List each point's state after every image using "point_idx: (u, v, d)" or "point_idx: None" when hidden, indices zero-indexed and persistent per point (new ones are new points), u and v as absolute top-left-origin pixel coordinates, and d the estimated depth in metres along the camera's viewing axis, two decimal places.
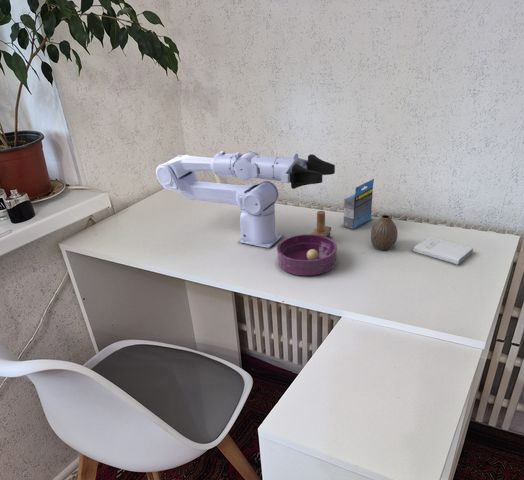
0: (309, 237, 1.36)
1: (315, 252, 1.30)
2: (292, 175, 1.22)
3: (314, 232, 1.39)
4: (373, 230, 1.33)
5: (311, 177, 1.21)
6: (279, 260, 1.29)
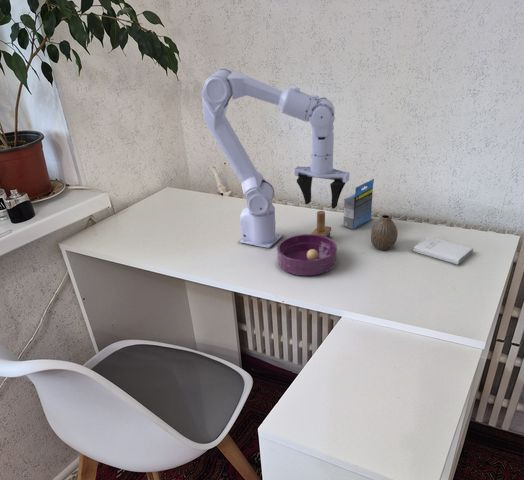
0: (309, 237, 1.36)
1: (315, 252, 1.30)
2: (344, 182, 1.29)
3: (314, 232, 1.39)
4: (373, 230, 1.33)
5: (336, 198, 1.32)
6: (279, 260, 1.29)
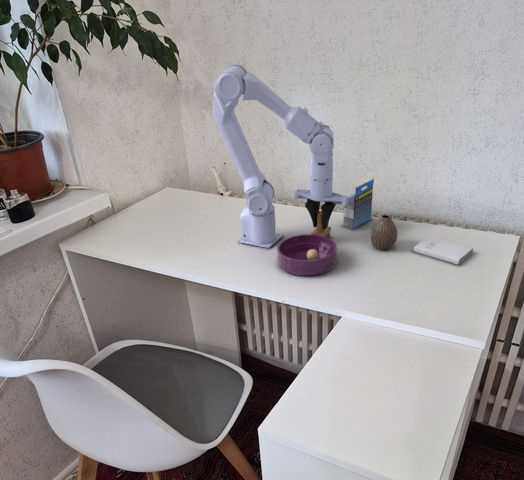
0: (309, 237, 1.36)
1: (315, 252, 1.30)
2: (334, 204, 1.34)
3: (314, 232, 1.39)
4: (373, 230, 1.33)
5: (327, 219, 1.37)
6: (279, 260, 1.29)
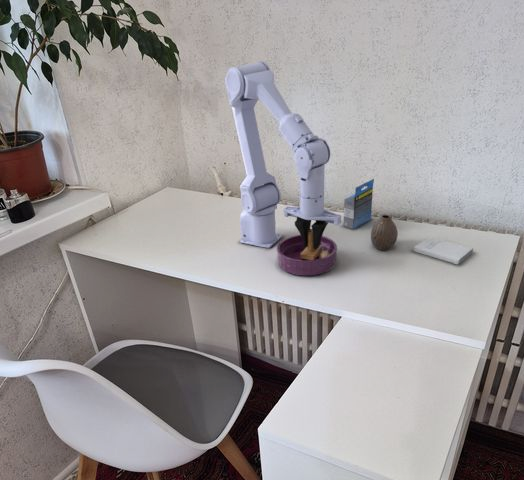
0: None
1: None
2: (326, 223, 1.24)
3: (305, 252, 1.28)
4: (373, 230, 1.33)
5: (318, 238, 1.27)
6: (279, 260, 1.29)
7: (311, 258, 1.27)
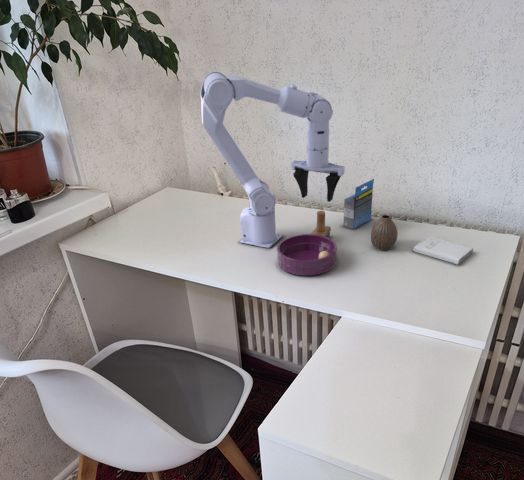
0: (309, 237, 1.36)
1: None
2: (339, 175, 1.33)
3: (314, 232, 1.39)
4: (373, 230, 1.33)
5: (332, 191, 1.36)
6: (279, 260, 1.29)
7: None
